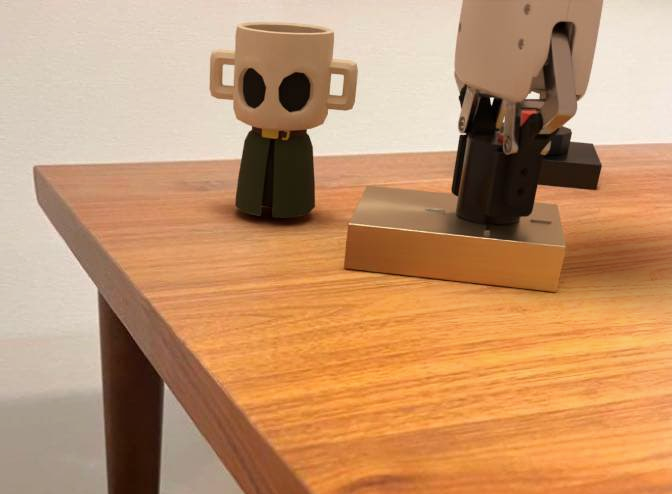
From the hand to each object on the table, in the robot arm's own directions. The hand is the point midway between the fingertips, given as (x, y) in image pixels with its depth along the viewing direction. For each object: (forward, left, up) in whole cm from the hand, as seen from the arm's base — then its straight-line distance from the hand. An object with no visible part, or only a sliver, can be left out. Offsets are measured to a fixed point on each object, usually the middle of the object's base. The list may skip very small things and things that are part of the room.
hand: (490, 202), depth 66 cm
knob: (0, 0, -1) cm, 1 cm away
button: (-4, -30, 0) cm, 30 cm away
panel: (+2, 0, -4) cm, 4 cm away
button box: (-4, -30, -4) cm, 30 cm away
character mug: (+16, -6, -4) cm, 18 cm away
